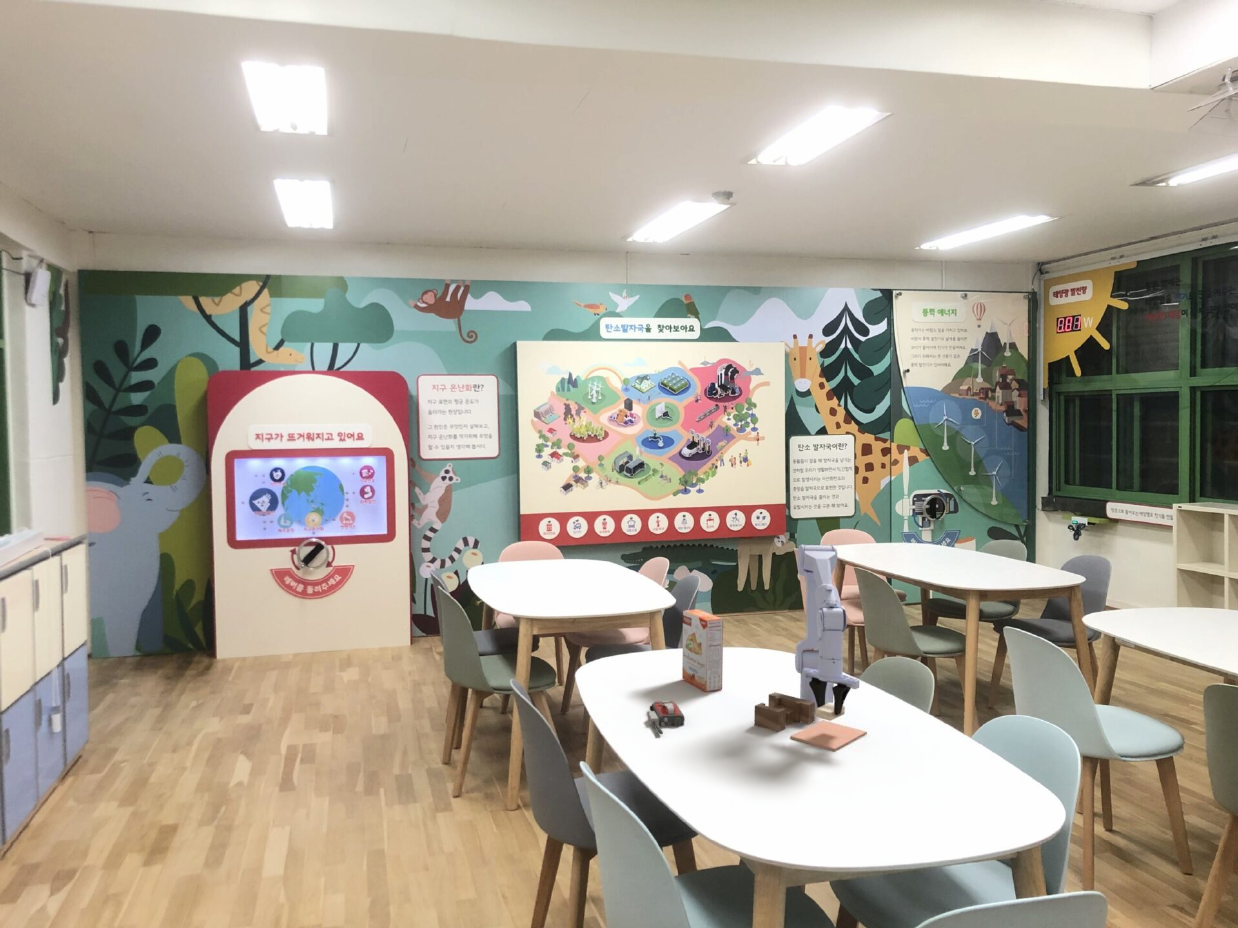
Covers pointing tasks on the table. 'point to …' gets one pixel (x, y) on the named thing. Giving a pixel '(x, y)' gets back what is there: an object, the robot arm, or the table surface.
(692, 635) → the cracker box
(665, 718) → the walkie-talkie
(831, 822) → the table surface
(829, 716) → the slab
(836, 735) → the mat
